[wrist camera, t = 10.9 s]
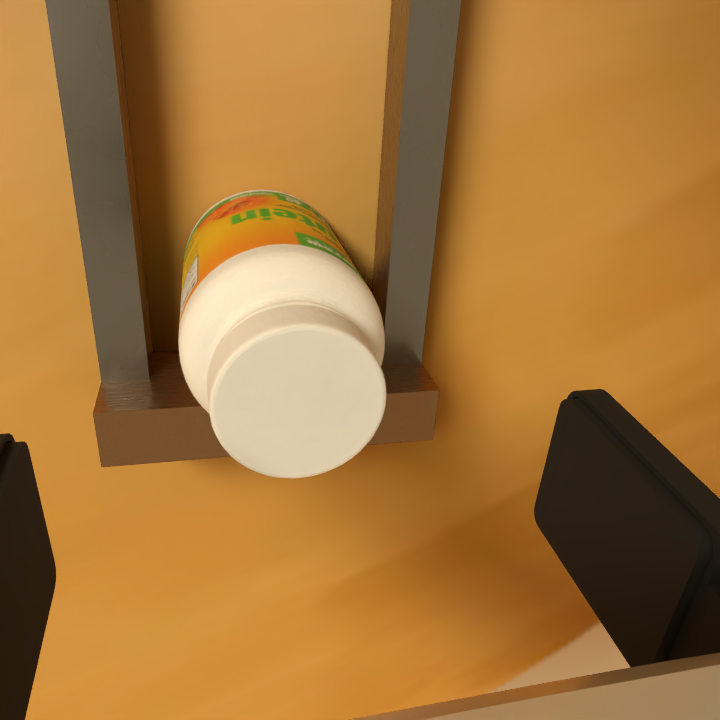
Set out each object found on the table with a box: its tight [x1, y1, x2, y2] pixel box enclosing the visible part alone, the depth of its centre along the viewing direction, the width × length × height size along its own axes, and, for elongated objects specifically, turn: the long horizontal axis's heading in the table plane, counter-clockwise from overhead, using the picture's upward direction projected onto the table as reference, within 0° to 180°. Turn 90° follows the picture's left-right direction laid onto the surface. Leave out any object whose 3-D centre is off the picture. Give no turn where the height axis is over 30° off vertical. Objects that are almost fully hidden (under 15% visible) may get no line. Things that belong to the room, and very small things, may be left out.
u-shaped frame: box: [45, 0, 461, 467], centre depth 17 cm, size 26×11×4 cm, turn 177°
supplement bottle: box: [178, 189, 386, 478], centre depth 18 cm, size 5×5×10 cm
